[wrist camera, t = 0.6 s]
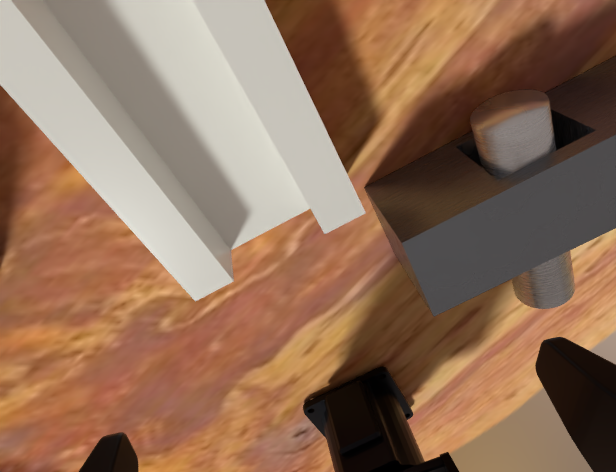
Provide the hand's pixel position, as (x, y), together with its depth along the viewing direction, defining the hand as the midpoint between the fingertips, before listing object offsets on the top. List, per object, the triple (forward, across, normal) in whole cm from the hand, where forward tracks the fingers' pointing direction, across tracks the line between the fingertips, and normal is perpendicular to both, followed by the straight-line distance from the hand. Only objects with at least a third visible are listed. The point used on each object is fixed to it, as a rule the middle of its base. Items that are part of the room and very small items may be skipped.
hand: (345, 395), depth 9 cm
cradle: (+14, +3, -3) cm, 14 cm away
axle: (+12, -13, +4) cm, 18 cm away
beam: (+14, -12, +2) cm, 18 cm away
